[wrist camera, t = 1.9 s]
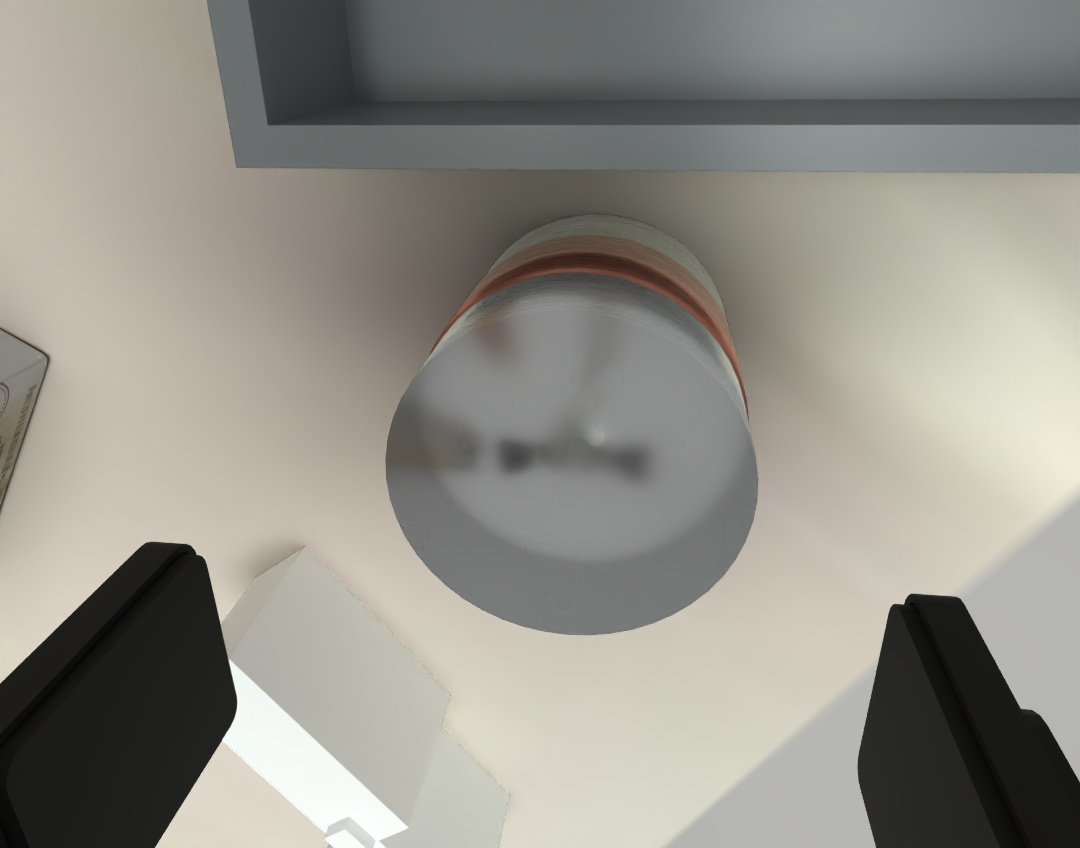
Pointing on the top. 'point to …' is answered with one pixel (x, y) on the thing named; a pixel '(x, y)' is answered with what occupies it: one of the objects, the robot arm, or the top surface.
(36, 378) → the coffee box
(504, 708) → the top surface
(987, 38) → the crate
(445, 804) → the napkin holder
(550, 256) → the can
